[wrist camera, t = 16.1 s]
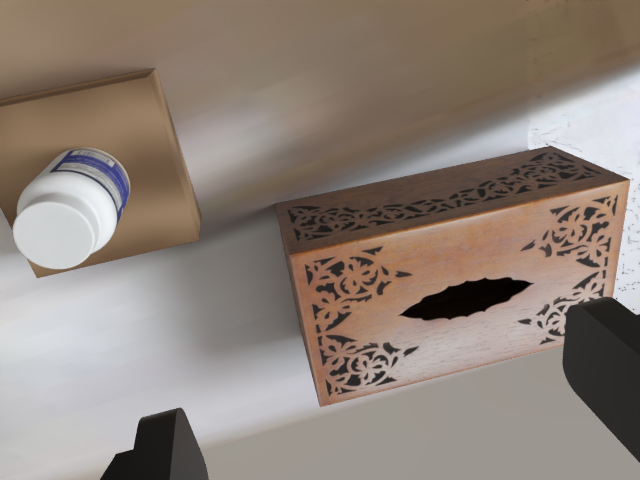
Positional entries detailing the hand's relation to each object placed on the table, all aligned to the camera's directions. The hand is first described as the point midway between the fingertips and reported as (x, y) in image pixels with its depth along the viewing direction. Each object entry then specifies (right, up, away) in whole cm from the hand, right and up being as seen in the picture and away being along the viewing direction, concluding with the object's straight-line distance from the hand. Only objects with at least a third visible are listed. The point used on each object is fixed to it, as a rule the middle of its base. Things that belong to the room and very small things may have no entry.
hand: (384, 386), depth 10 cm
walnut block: (-18, +9, +28) cm, 35 cm away
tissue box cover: (+8, +3, +37) cm, 38 cm away
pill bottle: (-17, +7, +24) cm, 30 cm away
